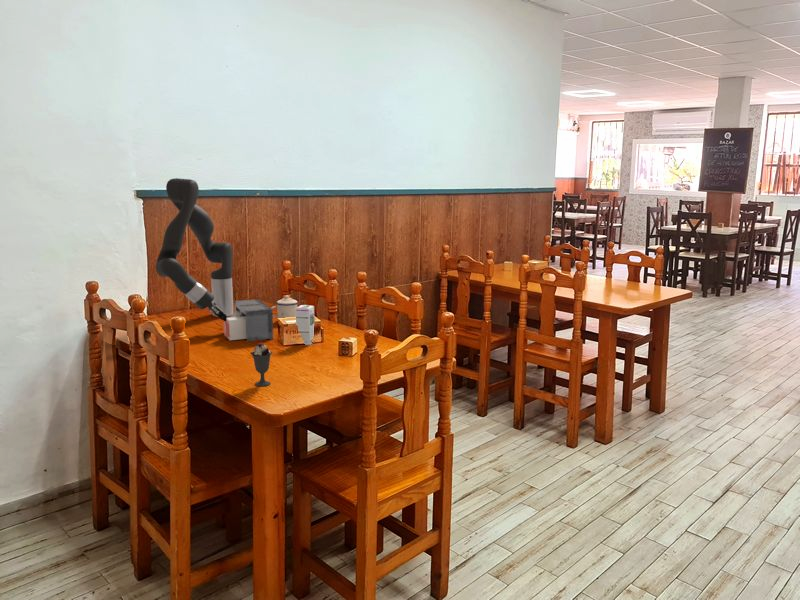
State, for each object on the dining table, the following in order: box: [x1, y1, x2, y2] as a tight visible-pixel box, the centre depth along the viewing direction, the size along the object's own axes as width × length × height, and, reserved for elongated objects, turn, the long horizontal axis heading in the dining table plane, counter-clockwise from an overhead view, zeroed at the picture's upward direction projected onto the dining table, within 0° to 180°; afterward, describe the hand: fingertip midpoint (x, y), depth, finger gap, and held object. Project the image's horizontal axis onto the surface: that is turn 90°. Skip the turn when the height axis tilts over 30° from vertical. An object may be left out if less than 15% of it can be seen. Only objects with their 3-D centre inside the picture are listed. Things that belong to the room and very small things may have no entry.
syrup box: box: [295, 304, 316, 346], centre depth 249 cm, size 6×6×14 cm
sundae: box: [249, 337, 273, 387], centre depth 200 cm, size 7×7×15 cm
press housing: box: [234, 298, 274, 342], centre depth 262 cm, size 23×10×12 cm, turn 25°
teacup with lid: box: [270, 295, 299, 319], centre depth 284 cm, size 12×9×12 cm
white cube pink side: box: [222, 316, 247, 341], centre depth 255 cm, size 5×9×8 cm, turn 115°
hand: (231, 323), depth 264 cm, fingers closed
